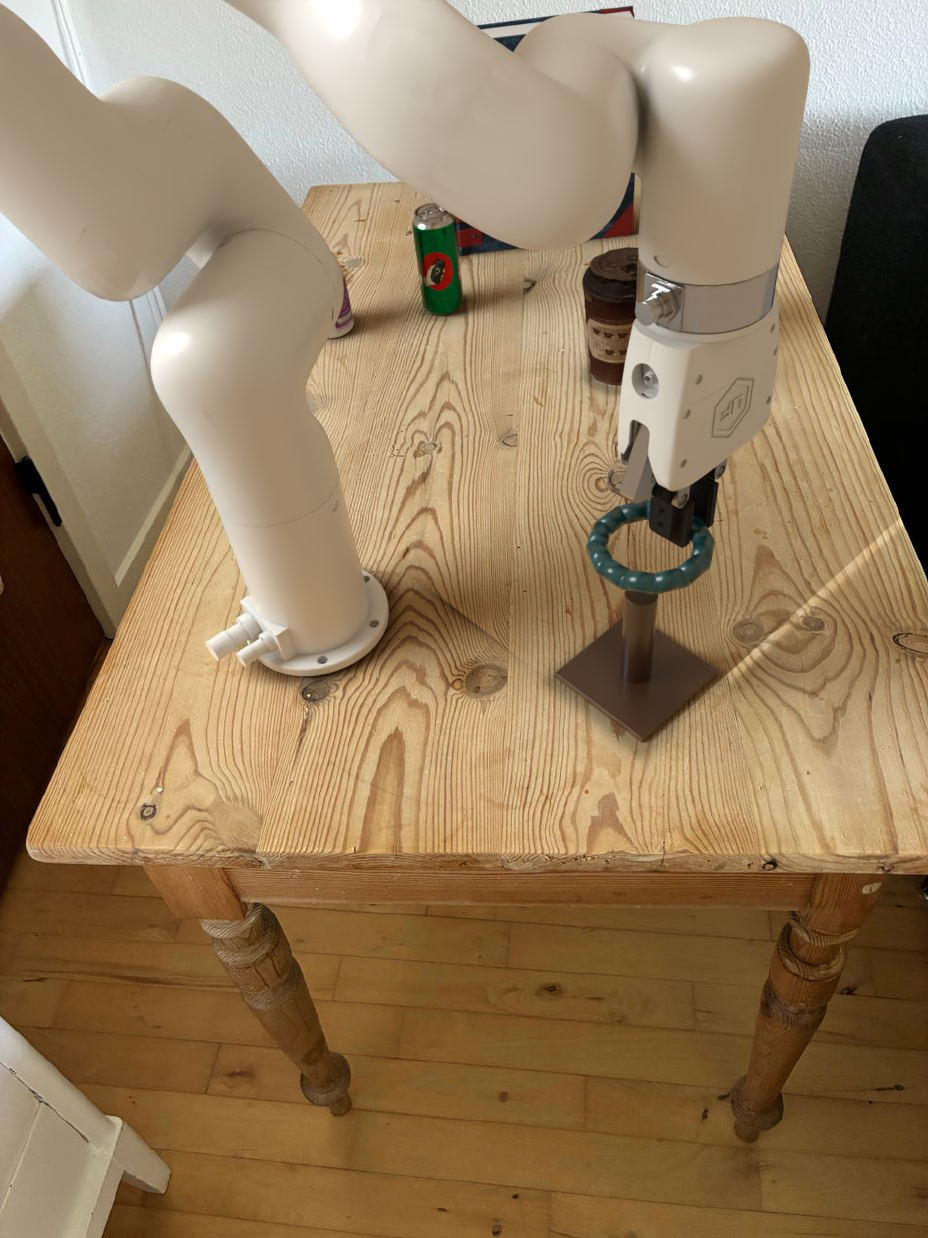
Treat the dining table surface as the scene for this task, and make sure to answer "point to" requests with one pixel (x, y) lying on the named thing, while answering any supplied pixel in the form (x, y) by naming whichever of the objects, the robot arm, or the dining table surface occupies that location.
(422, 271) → the soda can
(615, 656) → the peg stand
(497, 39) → the book
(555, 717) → the dining table surface
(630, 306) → the coffee cup
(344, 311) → the pill bottle
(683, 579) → the ring
